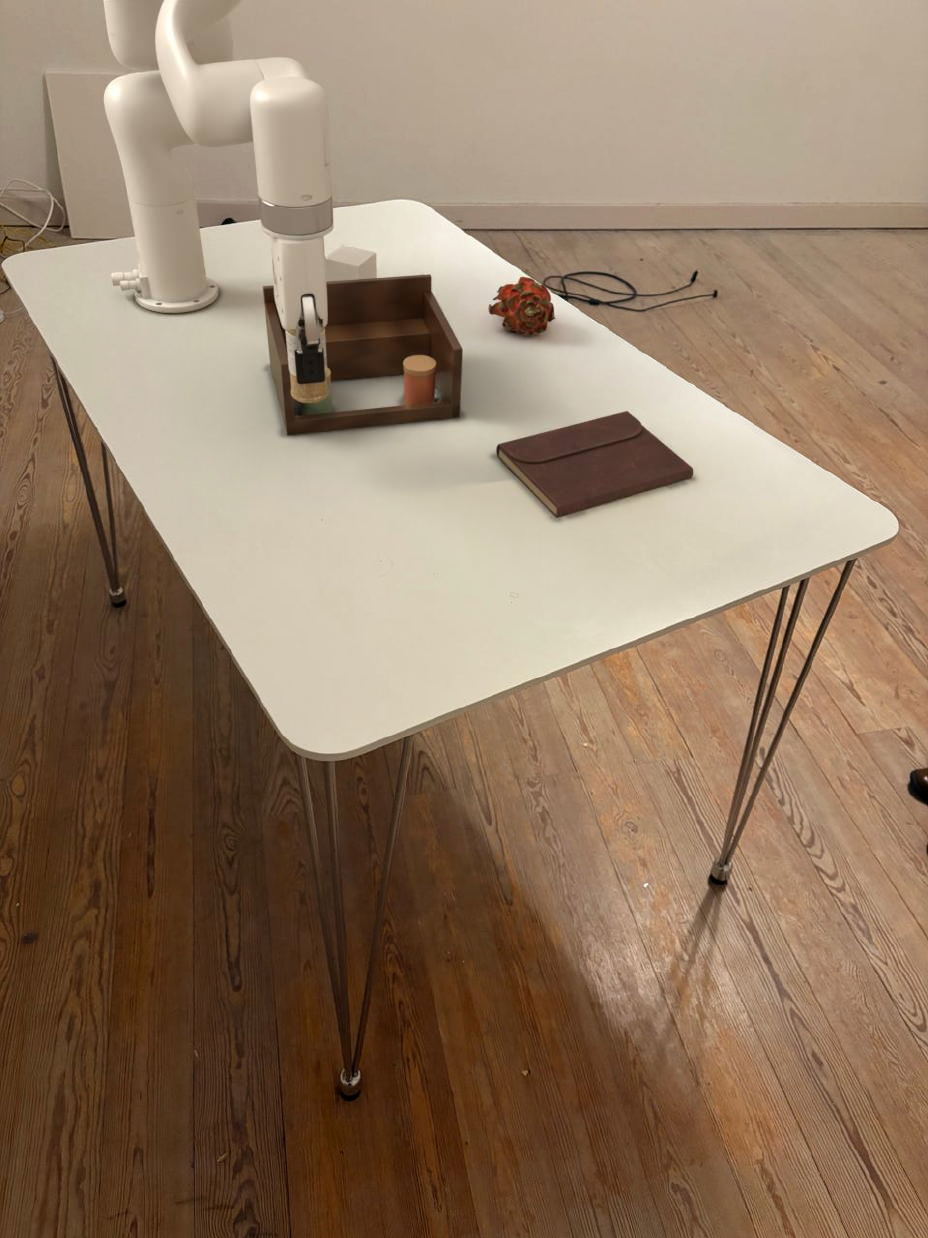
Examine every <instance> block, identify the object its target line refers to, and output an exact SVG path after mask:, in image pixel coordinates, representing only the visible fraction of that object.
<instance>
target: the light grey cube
mask: <svg viewBox="0 0 928 1238" xmlns="http://www.w3.org/2000/svg"><path fill="white" fill-rule="evenodd" d="M325 265H326V282H328V281H342V280H356V279H370V278H378V275H377V272H378V271H377V269H378V268H377V252H376V251H373V250H367V249H362V248H358V247H355V246H354V247H353V246H349V245H346V244H345V245H344V244H342V245H341V246H339V247H338V248H337V249H335V250H334V251H332V252H331V253H330V254H329V255H327V256H325Z"/></svg>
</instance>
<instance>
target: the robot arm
mask: <svg viewBox="0 0 928 1238" xmlns="http://www.w3.org/2000/svg"><path fill="white" fill-rule="evenodd" d="M242 1H243V0H103V1H102V2H103V9H104V15H105V24H106V32H107V38H108V42H109V46H110V49H111V52H112V55H113V57H114V58H115V59H116V62H118V63H119V64H120V65H121V66H122V67H124V68H127V69H129V70H133V71H139V72H132V73H127V74H123V75H120V76H118V77H116V78H114V79H113V80H111V81H110V82H109V83H108V85H106V88H105V90H104V93H103V106H104V112H105V115H106V120H107V122H108V125H109V128H110V131H111V134H112V137H113V140H114V143H115V146H116V149H117V153H118V156H119V161H120V164H121V169H122V174H123V179H124V184H125V189H126V195H127V200H128V205H129V210H130V211H129V212H130V217H131V223H132V227H133V233H134V234H133V235H134V240H135V244H136V251H137V255H138V256H137V257H138V263H137V265H138V268H135V269H132V271H114V272H111V273H110V275H111V283H112V285H113V287H114V286H116V287H117V286H120V290H121V291H131V290H134V297H135V301H136V303H137V304H138V305H140V306H141V307H142V308H144V309H146V310H150V311H152V312H157V313H164V314H181V313H189V312H194V311H198V310H201V309H203V308H205V307H207V306H210V305H211V304H213V303H214V302H215V301H216V300H217V298H218V296H219V287H218V284H217V283H216V281H214V280H213V279H212V278H210V277H209V276H207V272H206V265H205V259H204V250H203V242H202V236H201V229H200V222H199V221H200V220H199V215H198V209H197V208H198V207H197V206H198V205H197V199H196V198H197V197H196V193H195V185H194V181H193V178H192V177H193V176H192V175H191V173H190V171H189V170H188V169H187V167H186V166H185V165H184V164H183V163H182V162H181V161H180V160H179V159H178V158H176V156H175V155H173V154H172V149H174V148H178V147H183V146H190V145H199V146H202V147H205V148H221V147H223V148H224V147H229V146H236V145H237V146H238V145H243V144H250V143H253V153H254V163H255V174H256V185H257V194H258V206H259V216H260V217H259V218H260V227H261V230H262V232H263V233H265V234H266V235H267V236H270V248H271V249H270V250H271V264H272V281H273V285H274V297H275V303H276V307H277V310H278V314H279V317H280V321H281V324H282V327H283V328H284V329H285V330H286V331H290V329H295V337H296V347H297V350H294V353H295V366H296V379H297V383H298V384H310V383H321V382H324V381H325V367H324V350H323V348H322V339H321V327H322V328H324V327H325V326H326V325H327V321H328V309H327V282H326V265H325V258H326V253H325V250H326V249H325V238H324V236H326V235H329V234H330V233H331V232H332V231H333V230H334V228H335V227H334V205H333V201H334V200H333V184H332V164H331V163H332V162H331V161H332V160H331V159H332V158H331V139H330V119H329V104H328V103H329V101H328V97H327V94H326V92H325V89H324V88H323V87H322V86H321V85H320V84H319V83H318V82H316V81H314V80H312V78H311V76H310V75H309V74H308V73H307V71H306V69H305V67H304V66H303V65H302V64H301V63H300V62H299V61H297V60H295V59H294V58H291V57H285V56H275V57H274V56H273V57H264V58H254V59H250V58H249V59H240V60H234V42H233V41H234V40H233V30H232V29H233V28H232V23H231V18H230V13H232V12H233V11H234V10H235V9H237V7H238V6H239V5H240V4H241V3H242ZM301 304H302V306H301ZM299 320H304V323H302V324H298V321H299ZM301 331H305V337H302V340H301Z"/></svg>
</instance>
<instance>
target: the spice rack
mask: <svg viewBox="0 0 928 1238" xmlns="http://www.w3.org/2000/svg"><path fill="white" fill-rule="evenodd" d="M432 280H433V279H432V274H430V273H427V274H413V275H401V276H400V275H399V276H384V277H377V278H370V279H356V280H342V281H328V282H327V309H328V321H327V325H326V326H325V327H324V328H325V340H326V357H327V367H328V368H329V369H330V371H331V382H334V381H344V380H345V381H346V380H357V379H365V378H367V379H368V378H376V377H377V378H378V377H388V376H389V377H390V376H400V375H404V369H403V361H404V360H405V359H406V358H407V357H410V356H413V355H425V356H429V357H431V358H433V359H434V360H435V361H436V371H435V388H436V389H437V391H438V393H439V395H440V397H441V399H442V401H435V402H432V403H422V404H412V405H404V404H402V405H394V406H383V407H382V406H381V407H373V408H363V409H353V410H343V411H341V410H340V411H332V412H331V413H321V414H311V415H301V414H300V415H296V412H295V401H294V400H295V399H294V398H293V397H292V396H291V380H290V371H289V364H288V353H287V341H286V330H285V329H284V328H283V327H282V324H281V321H280V317H279V314H278V310H277V307H276V303H275V297H274V284H273V285H263V286H262V294H263V304H264V313H265V314H264V316H265V322H266V323H265V325H266V335H267V346H268V356H269V366H270V371H271V375H272V378H273V383H274V388H275V392H276V396H277V400H278V404H279V408H280V412H281V416H282V420H283V423H284V429H285V433H286V436H292V435H301V434H311V433H312V434H313V433H322V432H331V431H340V430H341V431H342V430H349V429H351V430H352V429H359V428H360V429H361V428H370V427H379V426H388V425H399V424H409V423H417V422H419V423H420V422H428V421H436V420H447V419H457V418H460V417H461V399H462V397H461V396H462V376H463V375H462V373H463V356H464V355H463V352H464V351H463V349H464V348H463V347H462V344H461V343H460V341H459V339H458V337H457V335H456V334H455V332H454V330H453V328H452V326H451V324H450V322H449V320H448V319H447V316H446V315H445V313H444V311H443V309H442V308H441V305H440V303H439V302H438V300H437V298H436V296H435V295H434V293H433V291H432V282H433V281H432Z"/></svg>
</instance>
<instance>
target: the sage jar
mask: <svg viewBox="0 0 928 1238" xmlns="http://www.w3.org/2000/svg"><path fill="white" fill-rule="evenodd" d="M326 372H327V387H328V389H329V393H328V396H327V397H326V398H325V399H323V400H322V401H319V402H316V403H303V402H299V411H300V412H299V413H300V416H301V415H311V414H321V413H331V412H333V398H332V381H331V371H330V369H329V368H328V367H327V371H326Z"/></svg>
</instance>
